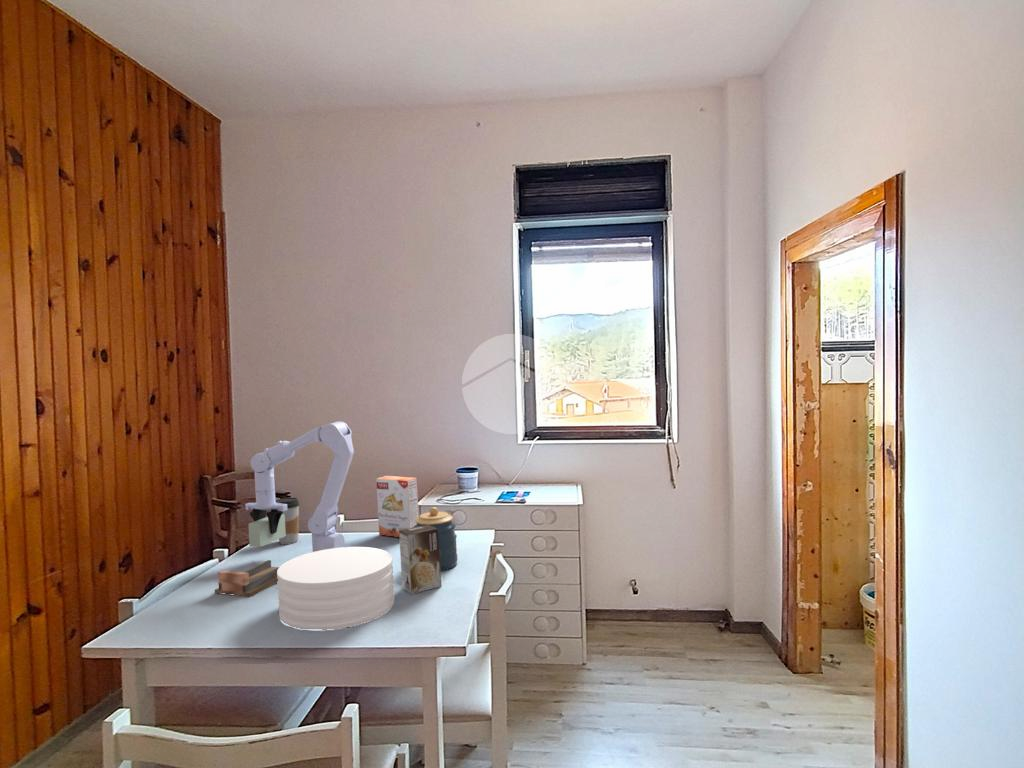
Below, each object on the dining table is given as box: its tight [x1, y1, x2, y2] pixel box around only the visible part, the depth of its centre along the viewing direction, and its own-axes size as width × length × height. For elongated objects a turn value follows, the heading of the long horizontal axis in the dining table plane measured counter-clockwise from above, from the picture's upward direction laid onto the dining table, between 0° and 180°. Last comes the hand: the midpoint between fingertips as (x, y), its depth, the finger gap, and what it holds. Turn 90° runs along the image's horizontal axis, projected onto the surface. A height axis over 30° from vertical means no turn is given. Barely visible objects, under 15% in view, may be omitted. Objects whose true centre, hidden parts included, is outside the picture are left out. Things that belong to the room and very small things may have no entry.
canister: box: [413, 506, 458, 572], centre depth 187 cm, size 13×13×18 cm
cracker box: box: [376, 475, 420, 538], centre depth 221 cm, size 14×6×21 cm, turn 62°
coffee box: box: [398, 525, 442, 595], centre depth 169 cm, size 9×6×16 cm
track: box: [214, 559, 280, 597], centre depth 178 cm, size 12×20×6 cm, turn 162°
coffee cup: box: [275, 497, 300, 545], centre depth 219 cm, size 8×8×15 cm
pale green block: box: [248, 515, 286, 548], centre depth 197 cm, size 4×12×7 cm, turn 162°
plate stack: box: [277, 546, 395, 630], centre depth 157 cm, size 28×28×12 cm
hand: (267, 532), depth 198 cm, fingers closed on pale green block, 4 cm apart
